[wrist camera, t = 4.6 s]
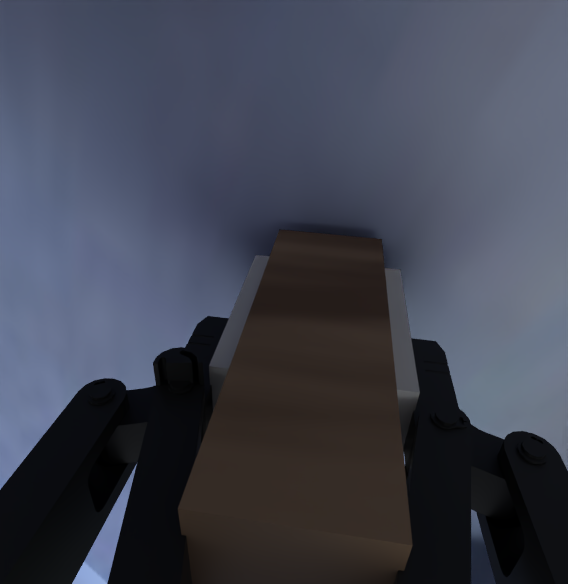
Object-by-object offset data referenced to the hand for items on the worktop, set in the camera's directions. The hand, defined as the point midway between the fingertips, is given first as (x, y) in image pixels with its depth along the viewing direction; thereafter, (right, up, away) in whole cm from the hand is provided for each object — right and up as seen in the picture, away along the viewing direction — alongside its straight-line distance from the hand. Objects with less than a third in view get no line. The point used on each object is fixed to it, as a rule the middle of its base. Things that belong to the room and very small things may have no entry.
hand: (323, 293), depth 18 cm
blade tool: (0, -6, +5) cm, 8 cm away
